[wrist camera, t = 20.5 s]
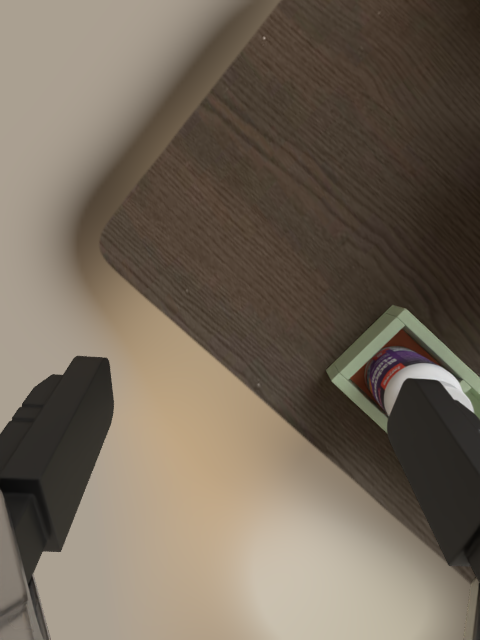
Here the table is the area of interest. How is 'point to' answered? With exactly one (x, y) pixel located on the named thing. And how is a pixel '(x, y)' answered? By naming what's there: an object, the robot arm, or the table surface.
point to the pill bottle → (405, 375)
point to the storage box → (404, 332)
